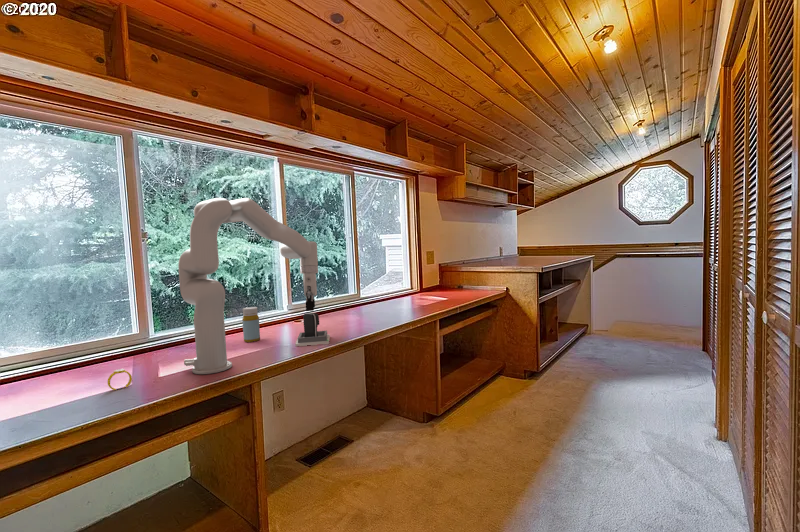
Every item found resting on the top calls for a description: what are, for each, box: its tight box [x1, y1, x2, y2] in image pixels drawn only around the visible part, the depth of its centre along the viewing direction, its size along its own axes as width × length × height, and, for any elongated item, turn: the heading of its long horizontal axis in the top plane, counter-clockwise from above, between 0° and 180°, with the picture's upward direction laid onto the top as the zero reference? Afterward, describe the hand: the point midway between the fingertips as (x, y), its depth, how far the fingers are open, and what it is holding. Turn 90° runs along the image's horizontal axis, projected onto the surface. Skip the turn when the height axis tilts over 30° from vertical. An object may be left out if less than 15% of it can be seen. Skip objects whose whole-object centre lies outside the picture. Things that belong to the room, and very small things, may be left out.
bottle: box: [242, 306, 261, 343], centre depth 180 cm, size 7×7×15 cm
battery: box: [302, 312, 320, 337], centre depth 173 cm, size 7×4×11 cm, turn 54°
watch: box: [107, 368, 133, 391], centre depth 122 cm, size 6×3×6 cm, turn 139°
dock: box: [295, 330, 331, 348], centre depth 173 cm, size 14×14×3 cm
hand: (310, 309), depth 172 cm, fingers open, 9 cm apart
